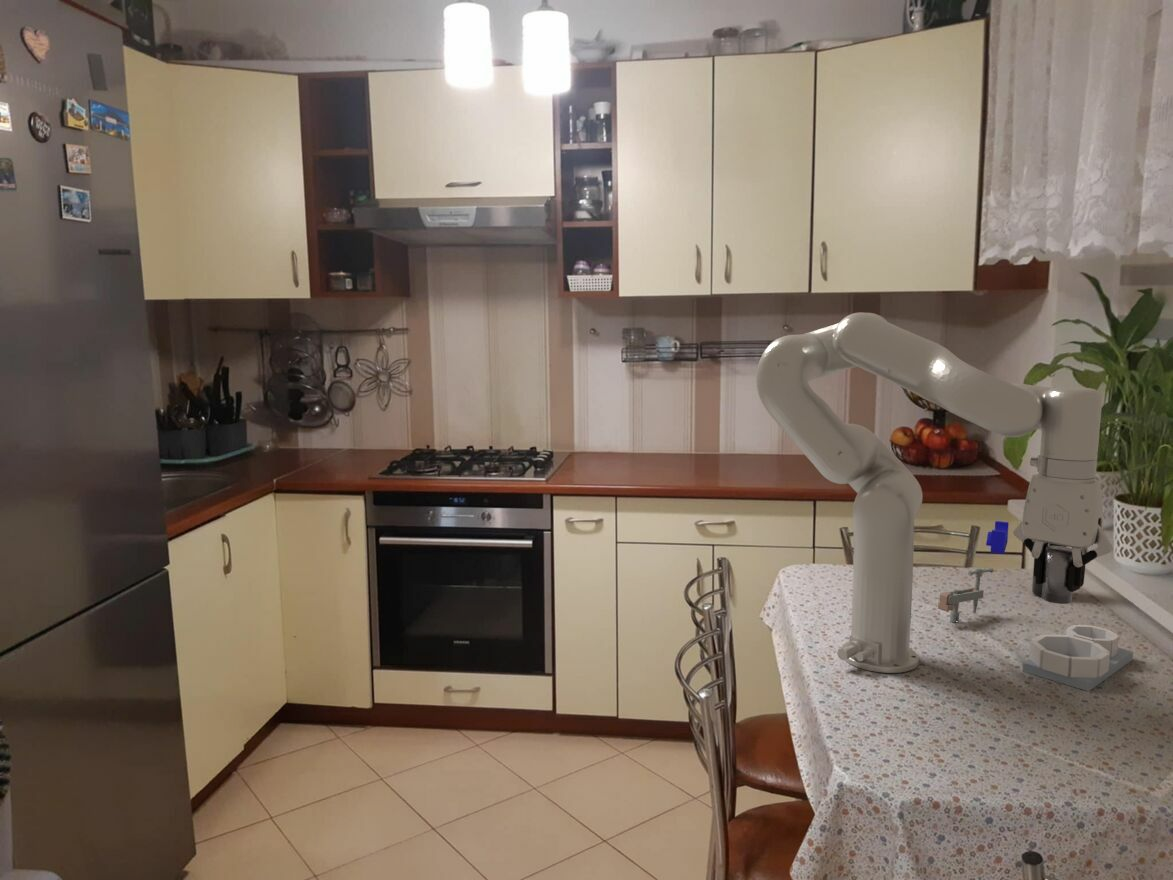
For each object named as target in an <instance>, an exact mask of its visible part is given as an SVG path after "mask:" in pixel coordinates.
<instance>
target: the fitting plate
mask: <svg viewBox="0 0 1173 880" xmlns="http://www.w3.org/2000/svg"><path fill="white" fill-rule="evenodd" d="M1065 630H1066V631H1065V634H1049V633H1048V634H1039V635H1037V636H1036V637H1033V638H1032V639H1030V645H1029V658H1028V659H1027V660H1025V661H1023V662H1022V672H1024V673H1027V674H1030V675H1033V676H1036V677H1041V678H1043V679H1047V680H1050V681H1053V682H1056V683H1059V684H1062V685H1067V686H1068V687H1069V686H1070V687H1073V688H1076V689H1078V690H1079V689H1080V690H1083V691H1086V692H1090V691H1091V690H1093V689H1094V688H1096V687H1097V686H1098V685H1100V684H1101V683H1102V682H1104V681H1105V680H1107V679H1109V678H1110V677H1111V676H1112V675H1113V674H1115V673H1116V672H1118V671H1120V670H1121V669H1122V668H1123V667H1125V666H1126V665H1127V664H1129V663H1131V662H1132V661H1133V660H1134V651H1133V650H1131V649H1130V650H1129V649H1126V648H1122V647H1119V639H1120V638H1119V635H1118V634H1116V633H1115V632H1113V630H1109V628H1108V629H1107V628H1104V627H1100V626H1095V625H1090V624H1089V625H1088V624H1074V625H1073V624H1072V625H1070V626H1068V627H1066V629H1065Z"/></svg>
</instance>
